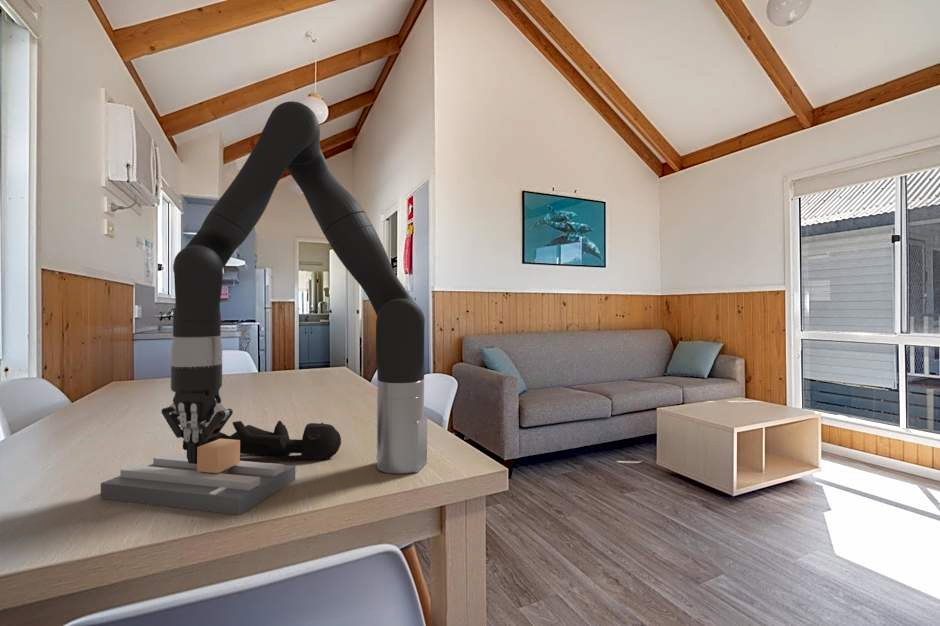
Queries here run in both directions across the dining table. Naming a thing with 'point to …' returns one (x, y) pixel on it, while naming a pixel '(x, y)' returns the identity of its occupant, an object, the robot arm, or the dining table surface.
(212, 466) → the block
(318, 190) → the robot arm
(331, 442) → the figurine
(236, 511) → the twin slider track
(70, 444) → the dining table surface
